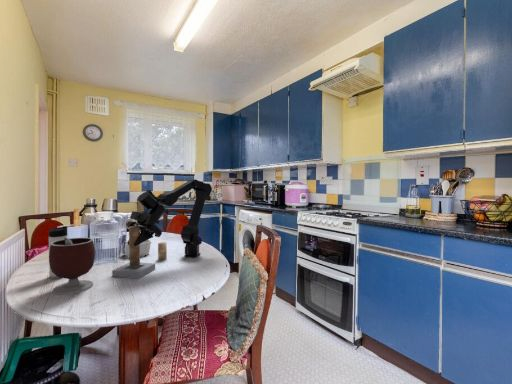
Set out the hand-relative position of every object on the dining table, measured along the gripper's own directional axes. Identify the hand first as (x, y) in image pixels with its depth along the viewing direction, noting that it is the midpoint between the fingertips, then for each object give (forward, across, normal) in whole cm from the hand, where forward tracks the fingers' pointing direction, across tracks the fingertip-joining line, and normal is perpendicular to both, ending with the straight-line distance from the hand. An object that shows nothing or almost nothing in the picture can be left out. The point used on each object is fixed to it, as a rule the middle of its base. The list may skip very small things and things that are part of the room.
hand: (131, 245), depth 116 cm
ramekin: (-4, -25, +22) cm, 34 cm away
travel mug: (+22, -21, -5) cm, 30 cm away
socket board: (+8, 0, +9) cm, 12 cm away
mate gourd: (+24, -2, -7) cm, 25 cm away
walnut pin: (+5, 0, +7) cm, 9 cm away
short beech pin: (-6, -7, +23) cm, 25 cm away
